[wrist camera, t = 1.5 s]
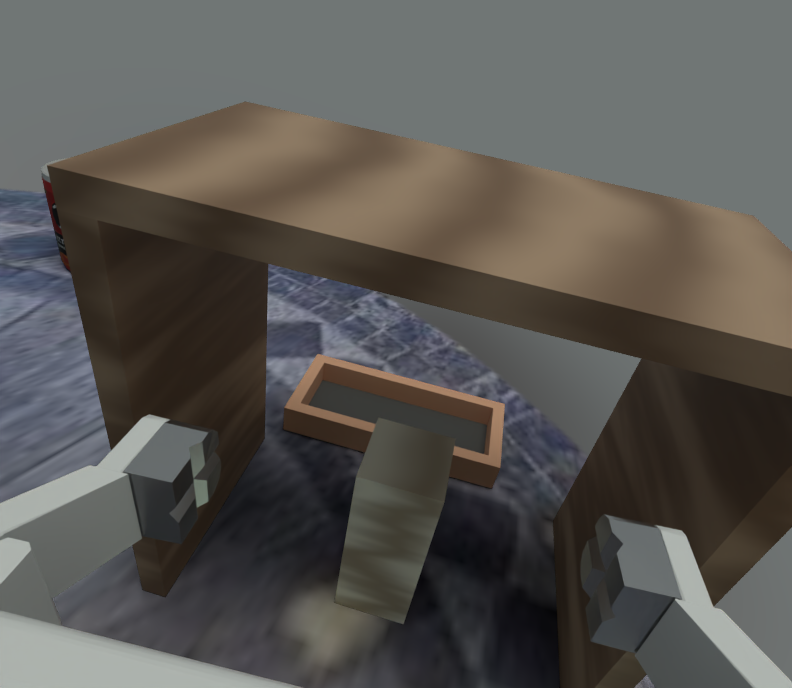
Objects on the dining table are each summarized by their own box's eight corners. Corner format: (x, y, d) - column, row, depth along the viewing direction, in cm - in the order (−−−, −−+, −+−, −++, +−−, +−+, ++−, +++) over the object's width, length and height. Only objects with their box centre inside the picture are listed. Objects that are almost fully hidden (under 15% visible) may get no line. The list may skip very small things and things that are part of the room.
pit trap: (283, 429, 43) (284, 407, 42) (315, 374, 50) (317, 353, 49) (491, 488, 42) (500, 468, 40) (497, 423, 48) (504, 404, 47)
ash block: (334, 602, 32) (356, 476, 25) (354, 541, 36) (378, 417, 29) (403, 624, 32) (444, 501, 25) (416, 560, 36) (455, 438, 29)
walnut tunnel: (142, 589, 31) (46, 165, 17) (247, 433, 42) (245, 101, 28) (588, 733, 29) (932, 383, 14) (572, 526, 40) (753, 215, 26)
